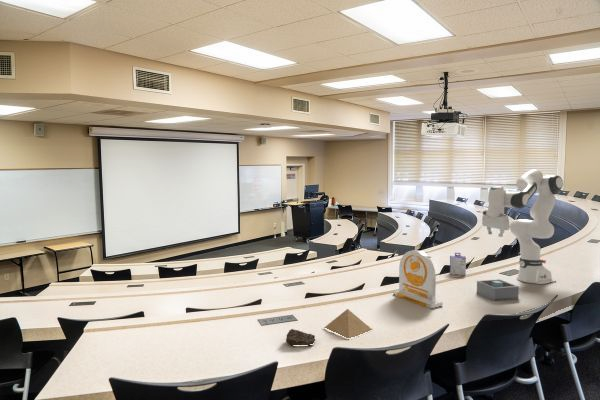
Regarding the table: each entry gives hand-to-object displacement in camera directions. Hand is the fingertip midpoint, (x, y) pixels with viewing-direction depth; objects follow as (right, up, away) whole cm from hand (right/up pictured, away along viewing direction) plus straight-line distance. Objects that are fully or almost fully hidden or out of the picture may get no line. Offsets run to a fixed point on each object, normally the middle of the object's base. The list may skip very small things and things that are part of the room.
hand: (495, 235), depth 241 cm
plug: (-8, -32, -18) cm, 37 cm away
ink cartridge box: (-11, -29, +30) cm, 44 cm away
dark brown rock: (-119, -38, -79) cm, 147 cm away
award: (-55, -34, -25) cm, 69 cm away
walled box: (-8, -33, -18) cm, 38 cm away
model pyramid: (-98, -37, -64) cm, 123 cm away
